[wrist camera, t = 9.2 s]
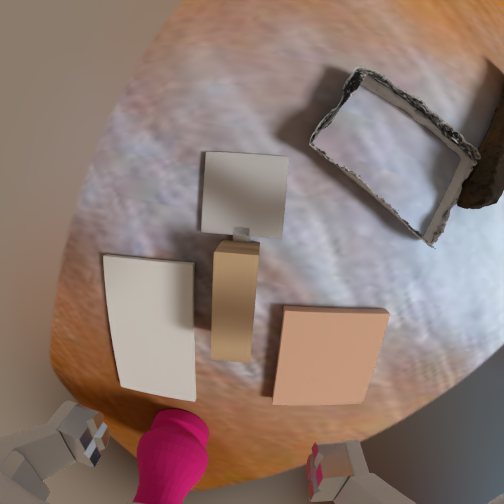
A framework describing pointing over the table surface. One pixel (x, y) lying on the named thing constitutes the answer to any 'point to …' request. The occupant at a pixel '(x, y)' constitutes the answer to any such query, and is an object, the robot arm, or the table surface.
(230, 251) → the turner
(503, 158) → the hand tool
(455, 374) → the table surface
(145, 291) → the pad
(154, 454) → the pepper mill
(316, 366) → the tile
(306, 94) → the table surface
